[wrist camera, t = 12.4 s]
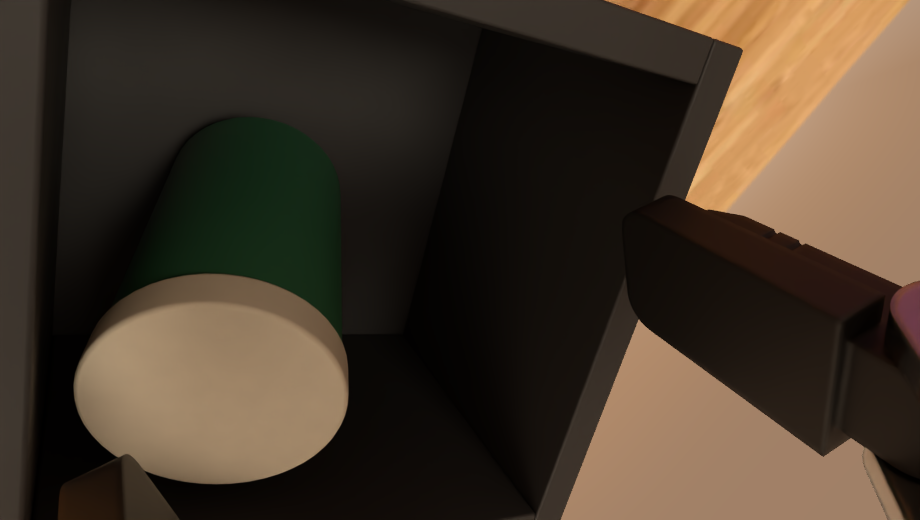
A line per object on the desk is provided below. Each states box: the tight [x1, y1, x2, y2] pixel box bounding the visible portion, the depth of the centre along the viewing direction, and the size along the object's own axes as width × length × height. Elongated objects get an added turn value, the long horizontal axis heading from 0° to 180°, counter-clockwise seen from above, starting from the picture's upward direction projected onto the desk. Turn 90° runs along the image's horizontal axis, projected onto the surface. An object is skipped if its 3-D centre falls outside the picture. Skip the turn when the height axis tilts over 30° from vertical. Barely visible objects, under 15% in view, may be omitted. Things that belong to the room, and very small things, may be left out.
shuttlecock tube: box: [73, 117, 349, 484], centre depth 13 cm, size 4×4×7 cm
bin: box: [0, 0, 743, 520], centre depth 14 cm, size 11×11×9 cm
